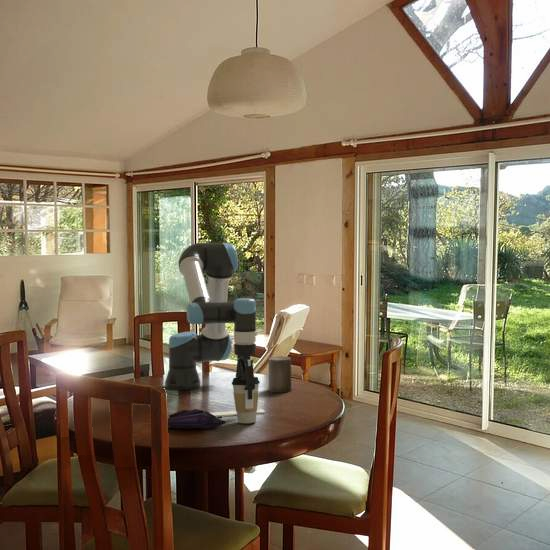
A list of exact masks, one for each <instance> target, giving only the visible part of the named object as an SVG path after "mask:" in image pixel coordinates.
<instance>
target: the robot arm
mask: <svg viewBox="0 0 550 550" xmlns="http://www.w3.org/2000/svg"><path fill="white" fill-rule="evenodd" d="M238 268H239V257H238V252H237V248H236V247H235V244H233V243H230V242H198V243H193V244H191V245H189V246H187V247H186V248H184V250H183V251H182V253H181V254H180V256H179V259H178V269H179V272H180V274H181V275H182V276H183V280H184V283H185V287H186V291H187V294H188V300H189V303H187V306H186V320H187V322H188V323H189V324H190V325H204V326H205V327H203V328H202V330H201V334H197V333H196V332H195V331H184V332H183V331H182V332H178V333H174V334H172V335H171V336H170V337H169V339H168V347H167V348H168V372H167V375H166V377H165V381H164V388H166V389H167V390H172V391H189V390H195V389H198V388H200V387H201V379H200V376H199V373H198V370H197V363H200V362H220V361H225V360H227V359H229V357H230V355H231V352H232V348H233V354H234V355H236V356H237V362H236V371H235V378H237V377H244V378H245V385H246V387H245V388H244V390H245V409H252V408H253V390H254V389H255V381H254V377H255V373H254V360H253V359H251V356H254V355H256V353H257V352H256V350H257V348H256V347H257V345H256V341H257V340H256V338H257V336H258V333H257V331H256V329H257V328H256V325H257V322H256V321H257V320H256V319H257V312H256V311H257V307H256V299H254V298H249V297H246V298H245V297H243V298H241V297H239V298H236V299H235V300H233V301H228V297H229V296H228V295H229V283H230V282H229V281H230V279H232V278H233V275H234V272H236V271H238ZM204 274H205V275H204ZM205 276H206V277H207V279H208V280H207V282H208V283H206V279H205ZM226 324H233V326H234V327H233V340H232V336H231V334H230V333H229V330H228V329H226ZM233 342H234V346H233V347H232V343H233ZM249 385H250V386H249Z"/></svg>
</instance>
